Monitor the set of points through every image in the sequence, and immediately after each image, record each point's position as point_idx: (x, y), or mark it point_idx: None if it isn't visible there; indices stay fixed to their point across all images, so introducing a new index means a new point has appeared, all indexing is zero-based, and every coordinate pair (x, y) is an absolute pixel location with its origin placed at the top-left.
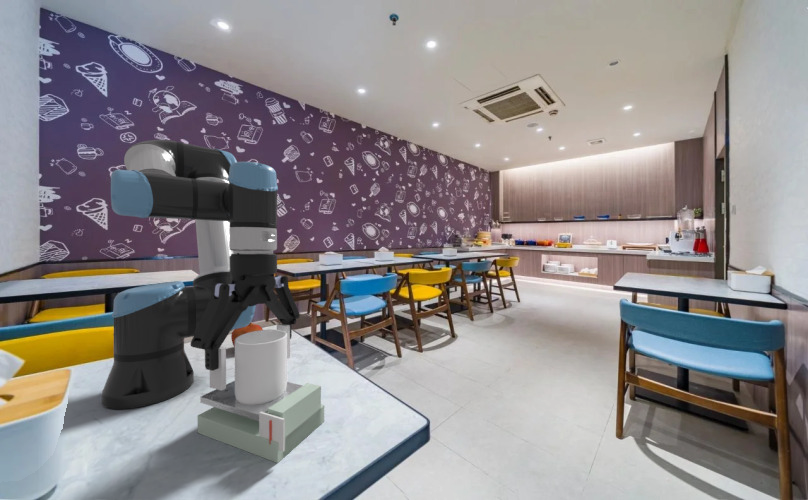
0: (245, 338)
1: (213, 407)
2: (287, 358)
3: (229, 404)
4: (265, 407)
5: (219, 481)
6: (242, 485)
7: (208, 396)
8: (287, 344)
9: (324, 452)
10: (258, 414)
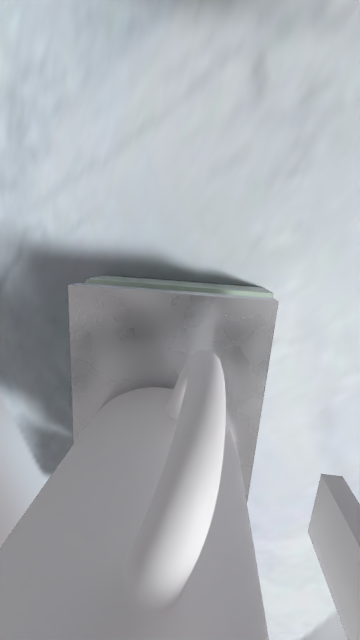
0: (80, 635)
1: (129, 284)
2: (310, 532)
3: (76, 410)
4: None
5: (40, 428)
6: (50, 464)
7: (80, 309)
8: (345, 630)
9: None
10: None
